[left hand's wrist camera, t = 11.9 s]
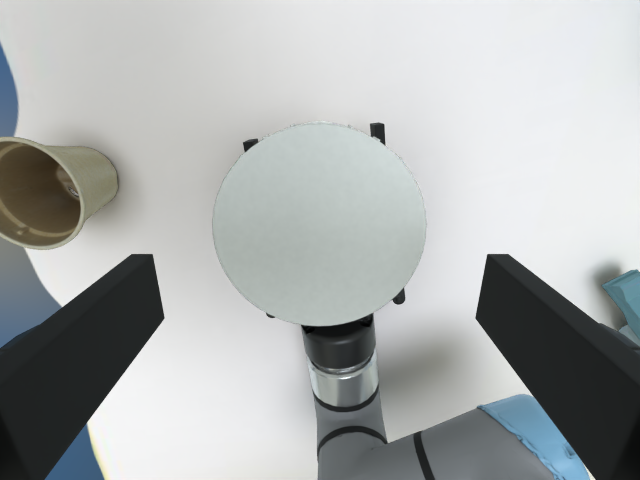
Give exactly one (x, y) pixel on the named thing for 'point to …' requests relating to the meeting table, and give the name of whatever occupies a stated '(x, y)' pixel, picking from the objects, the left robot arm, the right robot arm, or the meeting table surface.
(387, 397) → the meeting table surface
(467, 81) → the meeting table surface
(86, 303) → the left robot arm
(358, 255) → the lid
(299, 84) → the meeting table surface
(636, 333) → the toy gun
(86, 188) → the flower pot
